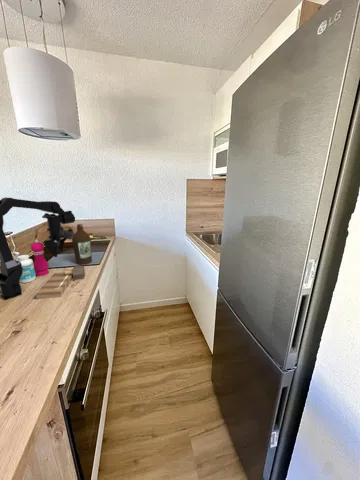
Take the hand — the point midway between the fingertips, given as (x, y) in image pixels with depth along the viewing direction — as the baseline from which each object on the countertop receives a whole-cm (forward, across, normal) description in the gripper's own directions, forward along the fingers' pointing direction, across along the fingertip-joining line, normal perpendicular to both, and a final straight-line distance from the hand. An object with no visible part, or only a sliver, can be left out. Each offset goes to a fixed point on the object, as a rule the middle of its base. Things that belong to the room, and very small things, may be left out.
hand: (59, 254), depth 113 cm
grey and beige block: (+13, -5, -8) cm, 16 cm away
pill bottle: (+13, -3, +16) cm, 21 cm away
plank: (+12, -13, -2) cm, 18 cm away
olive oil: (+13, +19, -7) cm, 24 cm away
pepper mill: (+13, +5, +12) cm, 18 cm away
